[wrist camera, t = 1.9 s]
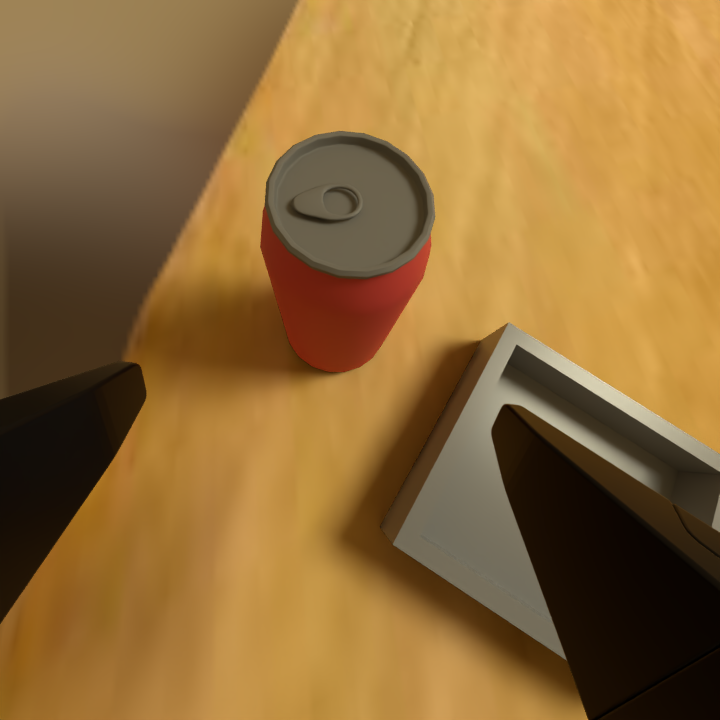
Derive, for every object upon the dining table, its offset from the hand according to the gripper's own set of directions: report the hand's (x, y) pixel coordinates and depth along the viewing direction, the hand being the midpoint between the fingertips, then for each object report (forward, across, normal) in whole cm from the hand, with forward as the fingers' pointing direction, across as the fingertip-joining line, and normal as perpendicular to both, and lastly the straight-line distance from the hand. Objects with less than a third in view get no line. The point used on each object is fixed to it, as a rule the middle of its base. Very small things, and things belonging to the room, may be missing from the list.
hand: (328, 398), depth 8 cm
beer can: (+14, 0, +4) cm, 14 cm away
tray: (+7, -14, +11) cm, 19 cm away
